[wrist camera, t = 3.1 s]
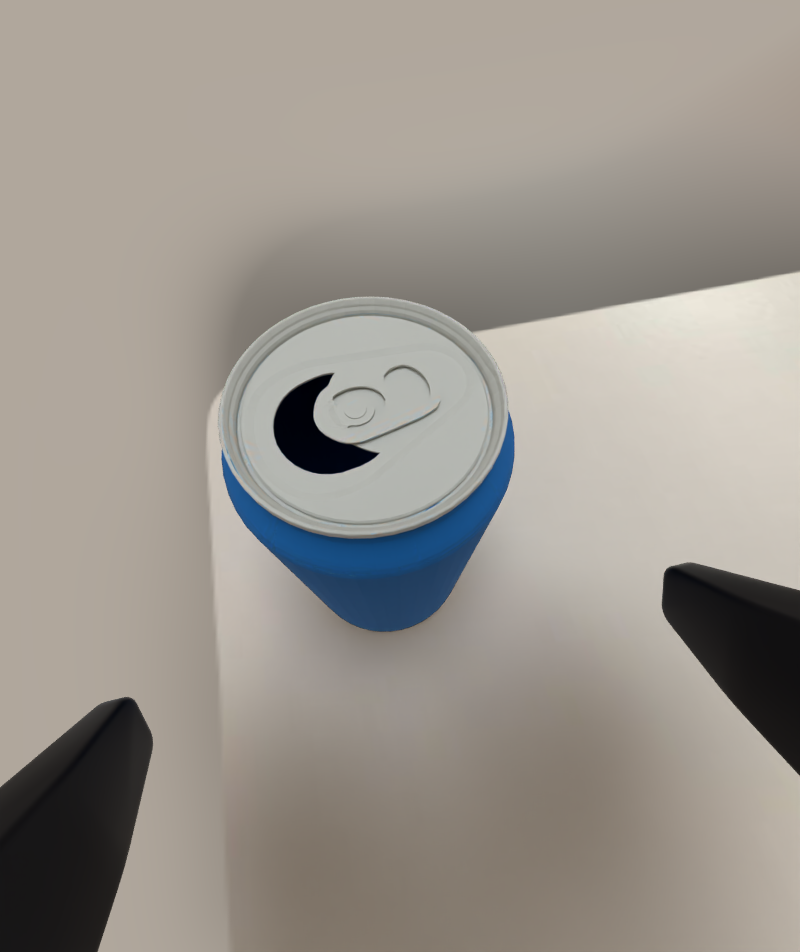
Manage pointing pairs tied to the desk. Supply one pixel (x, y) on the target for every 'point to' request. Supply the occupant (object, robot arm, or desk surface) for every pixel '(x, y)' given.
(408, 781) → the desk surface
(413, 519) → the beverage can
